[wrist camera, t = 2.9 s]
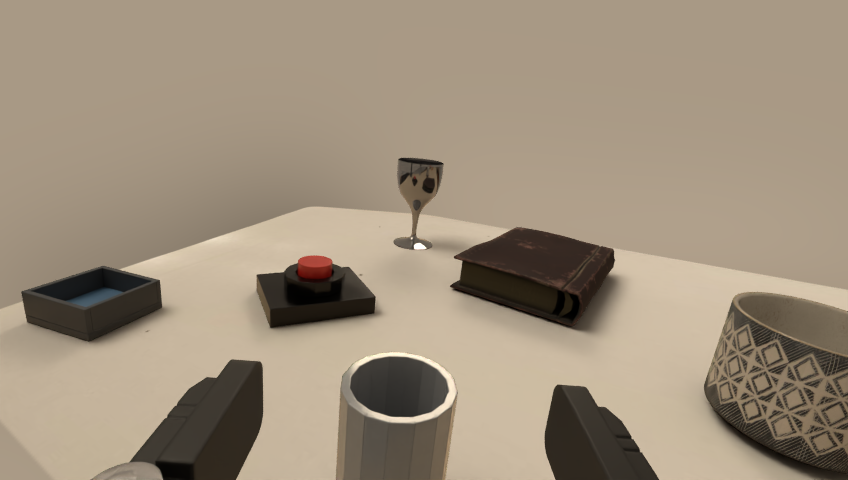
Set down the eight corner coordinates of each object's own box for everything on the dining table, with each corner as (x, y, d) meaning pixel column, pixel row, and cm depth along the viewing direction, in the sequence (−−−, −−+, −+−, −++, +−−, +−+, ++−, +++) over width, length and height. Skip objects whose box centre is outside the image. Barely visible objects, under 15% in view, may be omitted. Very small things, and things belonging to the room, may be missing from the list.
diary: (611, 276, 74) (618, 248, 73) (577, 331, 54) (586, 293, 52) (508, 249, 83) (512, 223, 82) (444, 287, 62) (448, 254, 61)
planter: (702, 437, 37) (740, 327, 34) (698, 369, 48) (728, 281, 45) (905, 514, 31) (973, 390, 28) (850, 417, 42) (895, 320, 39)
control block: (270, 327, 47) (270, 293, 46) (256, 290, 55) (256, 260, 54) (374, 313, 53) (376, 282, 52) (348, 281, 61) (349, 254, 60)
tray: (88, 341, 41) (84, 310, 40) (26, 322, 44) (21, 291, 43) (162, 307, 49) (160, 280, 48) (106, 292, 51) (103, 265, 50)
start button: (302, 282, 50) (302, 268, 50) (294, 270, 54) (294, 256, 53) (335, 279, 52) (336, 265, 52) (326, 267, 56) (327, 254, 55)
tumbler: (353, 596, 23) (365, 437, 20) (321, 500, 28) (327, 363, 25) (455, 550, 25) (479, 405, 23) (409, 471, 31) (423, 344, 28)
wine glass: (384, 237, 82) (390, 157, 78) (422, 235, 86) (430, 158, 81) (402, 251, 76) (410, 164, 71) (442, 248, 79) (452, 165, 75)
